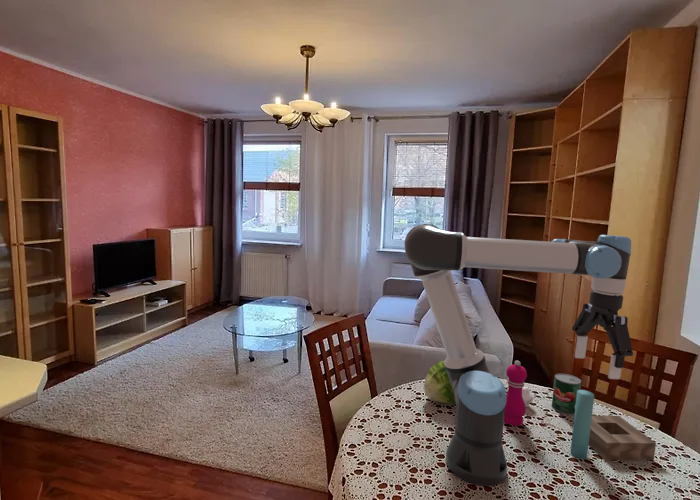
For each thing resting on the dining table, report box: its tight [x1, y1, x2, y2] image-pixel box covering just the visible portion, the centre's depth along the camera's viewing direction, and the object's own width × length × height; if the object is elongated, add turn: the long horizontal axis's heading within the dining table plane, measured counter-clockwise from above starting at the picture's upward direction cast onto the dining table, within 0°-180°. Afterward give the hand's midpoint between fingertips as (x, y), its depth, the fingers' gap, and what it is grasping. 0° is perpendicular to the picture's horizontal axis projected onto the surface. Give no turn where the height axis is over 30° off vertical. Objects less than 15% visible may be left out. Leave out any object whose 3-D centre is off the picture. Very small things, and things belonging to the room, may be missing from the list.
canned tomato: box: [551, 373, 582, 416], centre depth 133 cm, size 8×8×11 cm
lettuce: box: [423, 359, 456, 406], centre depth 136 cm, size 16×21×15 cm
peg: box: [569, 389, 595, 460], centre depth 108 cm, size 4×4×18 cm
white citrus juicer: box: [522, 385, 533, 408], centre depth 135 cm, size 6×6×7 cm
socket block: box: [588, 414, 657, 461], centre depth 114 cm, size 14×14×5 cm
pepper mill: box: [504, 360, 528, 427], centre depth 124 cm, size 7×7×20 cm
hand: (595, 367), depth 108 cm, fingers open, 13 cm apart
